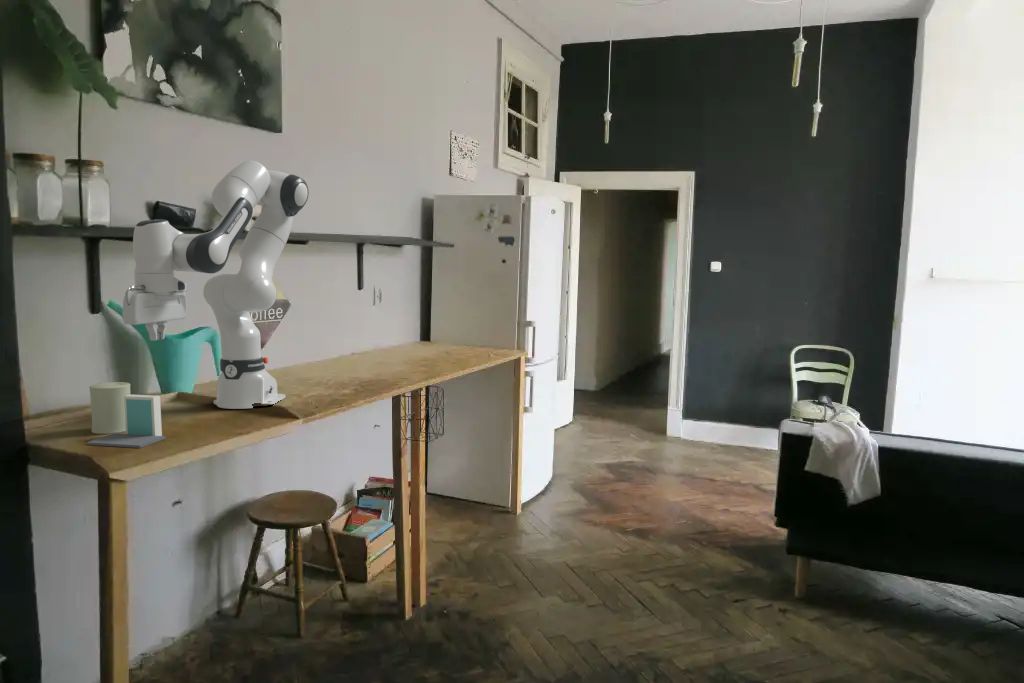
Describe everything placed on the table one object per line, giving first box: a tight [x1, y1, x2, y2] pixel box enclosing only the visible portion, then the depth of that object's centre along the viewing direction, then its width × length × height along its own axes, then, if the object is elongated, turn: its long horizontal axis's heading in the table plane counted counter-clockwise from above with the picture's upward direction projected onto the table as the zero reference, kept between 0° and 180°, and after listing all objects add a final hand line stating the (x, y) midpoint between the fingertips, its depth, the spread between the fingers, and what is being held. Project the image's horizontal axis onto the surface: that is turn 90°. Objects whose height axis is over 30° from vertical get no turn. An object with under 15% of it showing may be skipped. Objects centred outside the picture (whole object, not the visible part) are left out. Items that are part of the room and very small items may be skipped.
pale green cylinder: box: [89, 381, 131, 435], centre depth 184 cm, size 9×9×12 cm
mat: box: [86, 433, 166, 449], centre depth 172 cm, size 9×14×1 cm, turn 80°
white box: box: [124, 393, 163, 436], centre depth 178 cm, size 3×8×10 cm, turn 80°
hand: (157, 339), depth 182 cm, fingers closed
